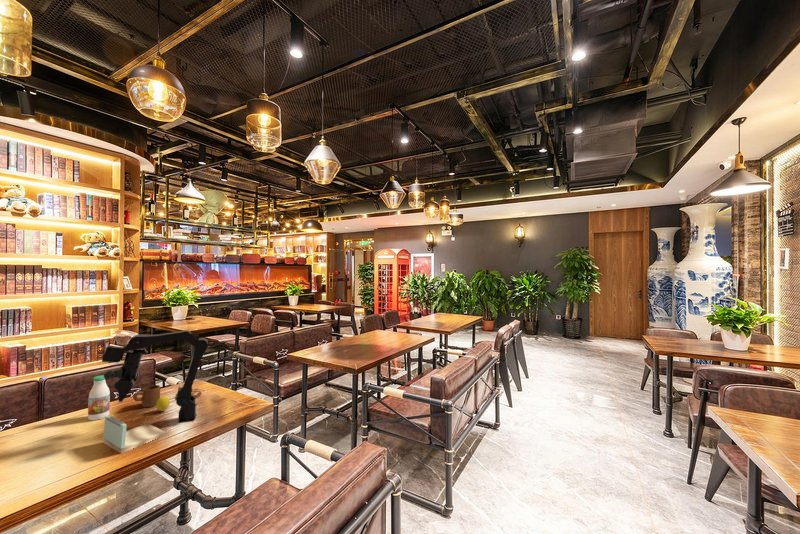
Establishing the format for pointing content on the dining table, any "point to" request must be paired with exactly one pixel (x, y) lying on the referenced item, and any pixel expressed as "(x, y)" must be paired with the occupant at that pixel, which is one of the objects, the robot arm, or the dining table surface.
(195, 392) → the pretzel
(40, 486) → the dining table surface
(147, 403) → the mug
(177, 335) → the robot arm
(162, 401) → the lemon
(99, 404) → the milk bottle
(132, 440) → the beige flat square pad
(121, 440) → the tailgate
